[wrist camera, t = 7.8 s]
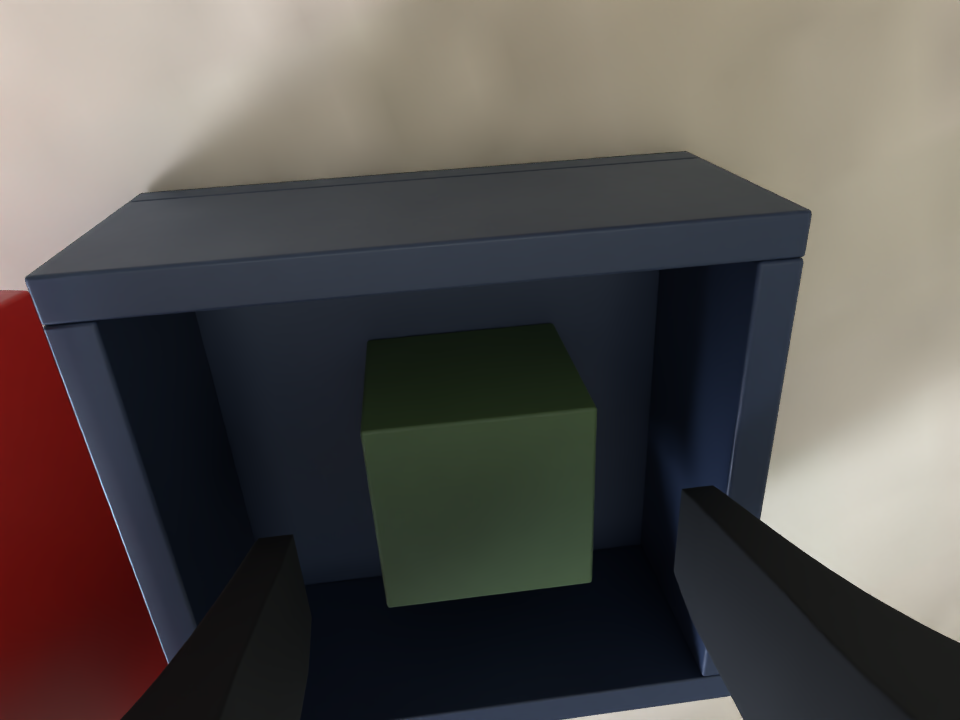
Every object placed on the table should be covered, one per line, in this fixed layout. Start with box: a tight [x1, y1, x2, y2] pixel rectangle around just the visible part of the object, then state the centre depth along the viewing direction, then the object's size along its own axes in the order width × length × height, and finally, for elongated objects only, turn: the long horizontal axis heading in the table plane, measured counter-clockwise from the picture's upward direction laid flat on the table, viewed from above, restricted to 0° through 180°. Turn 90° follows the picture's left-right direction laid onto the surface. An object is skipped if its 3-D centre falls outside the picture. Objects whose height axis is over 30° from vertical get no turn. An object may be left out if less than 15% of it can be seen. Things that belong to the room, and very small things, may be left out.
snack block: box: [360, 323, 597, 608], centre depth 15 cm, size 4×4×4 cm
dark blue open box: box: [25, 151, 812, 720], centre depth 16 cm, size 12×12×5 cm
